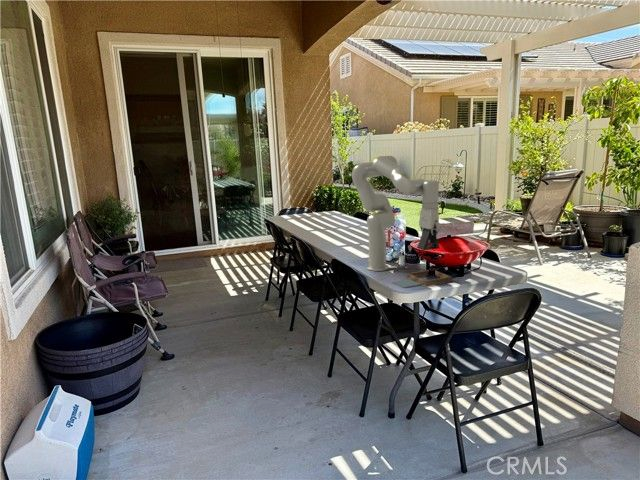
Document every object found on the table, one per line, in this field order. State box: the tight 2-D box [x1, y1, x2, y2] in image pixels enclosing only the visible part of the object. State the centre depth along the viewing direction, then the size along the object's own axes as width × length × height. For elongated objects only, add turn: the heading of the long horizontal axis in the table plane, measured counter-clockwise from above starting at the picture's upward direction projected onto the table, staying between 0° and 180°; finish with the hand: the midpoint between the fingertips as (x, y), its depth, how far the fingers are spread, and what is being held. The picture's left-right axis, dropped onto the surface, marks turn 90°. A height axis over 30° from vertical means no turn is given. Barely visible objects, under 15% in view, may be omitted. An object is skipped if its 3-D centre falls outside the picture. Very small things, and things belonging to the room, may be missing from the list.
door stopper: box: [417, 227, 440, 251], centre depth 222 cm, size 9×6×12 cm, turn 105°
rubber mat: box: [392, 278, 422, 289], centre depth 221 cm, size 10×10×1 cm
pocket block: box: [406, 269, 453, 287], centre depth 226 cm, size 16×16×2 cm
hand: (428, 240), depth 222 cm, fingers closed on door stopper, 6 cm apart
